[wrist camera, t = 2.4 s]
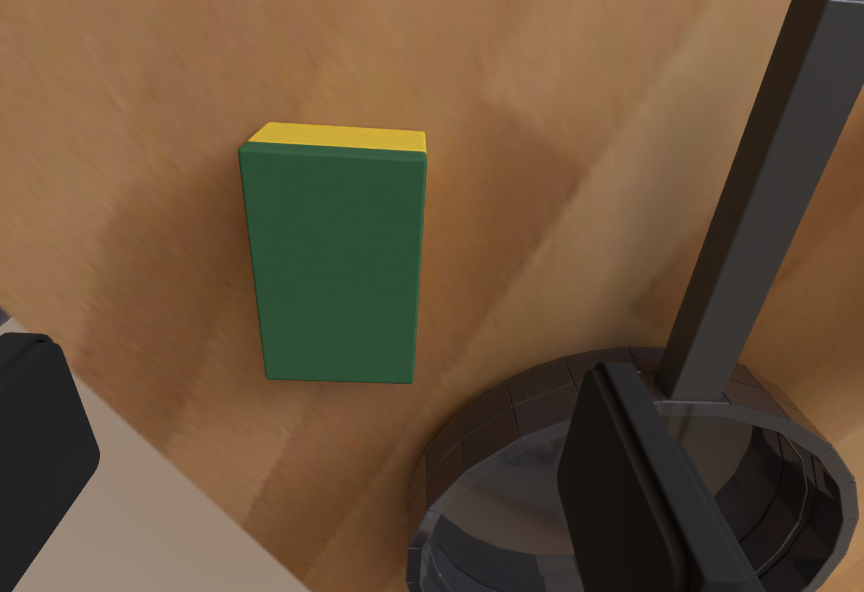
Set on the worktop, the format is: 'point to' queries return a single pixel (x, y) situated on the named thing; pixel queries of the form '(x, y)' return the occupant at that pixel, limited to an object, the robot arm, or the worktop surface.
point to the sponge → (336, 249)
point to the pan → (541, 505)
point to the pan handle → (766, 191)
